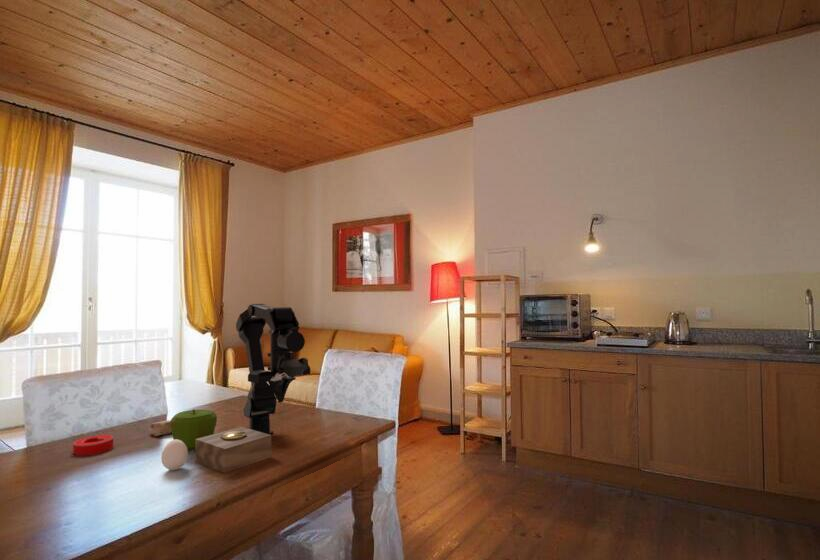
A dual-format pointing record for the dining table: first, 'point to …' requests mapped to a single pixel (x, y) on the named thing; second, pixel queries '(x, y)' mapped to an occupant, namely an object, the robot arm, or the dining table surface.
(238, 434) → the peg
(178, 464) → the egg
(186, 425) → the apple
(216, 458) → the socket block
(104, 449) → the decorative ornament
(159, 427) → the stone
